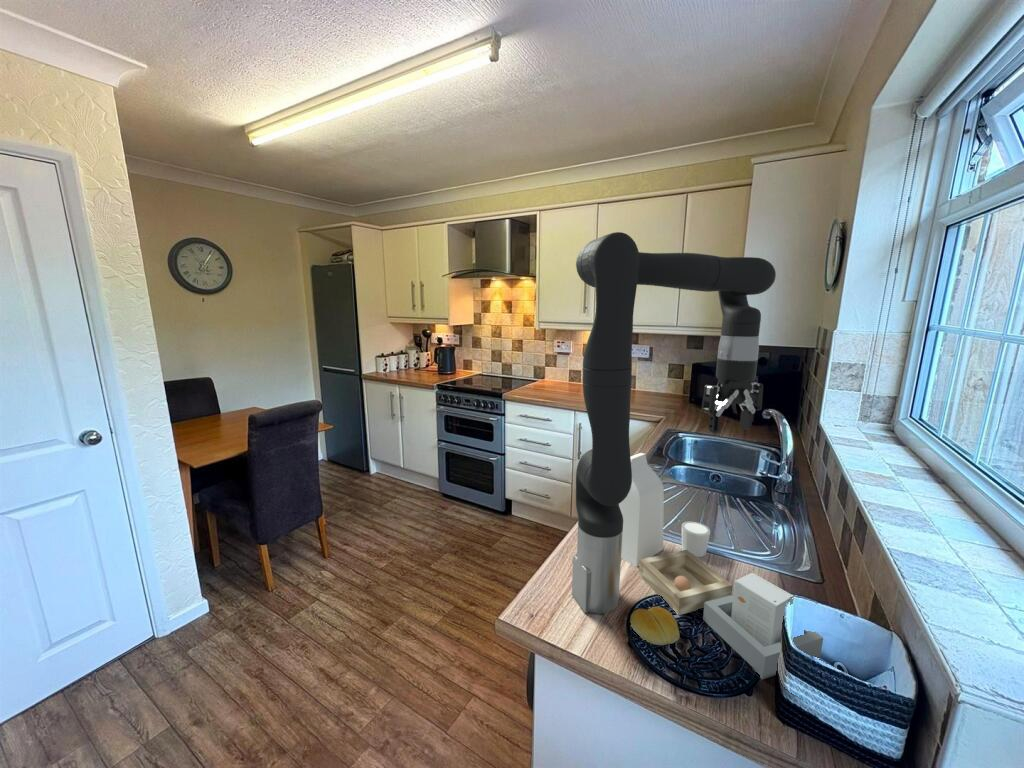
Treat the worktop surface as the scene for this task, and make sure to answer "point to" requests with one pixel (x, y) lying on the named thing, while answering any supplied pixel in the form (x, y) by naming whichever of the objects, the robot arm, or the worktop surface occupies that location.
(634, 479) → the milk
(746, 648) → the grey tub
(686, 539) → the white cylinder
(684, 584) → the ball
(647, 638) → the bread roll
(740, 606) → the small box
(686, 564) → the birch box
